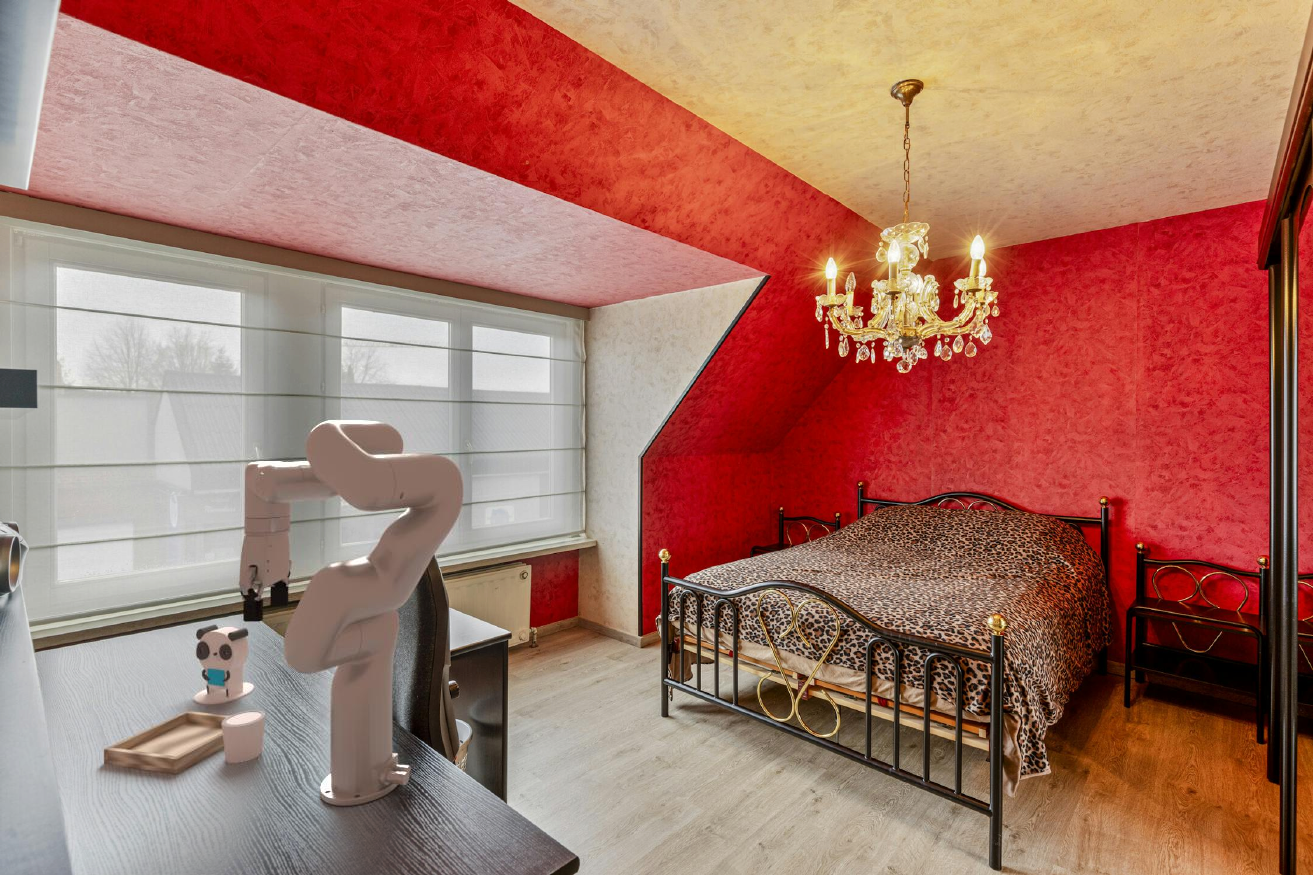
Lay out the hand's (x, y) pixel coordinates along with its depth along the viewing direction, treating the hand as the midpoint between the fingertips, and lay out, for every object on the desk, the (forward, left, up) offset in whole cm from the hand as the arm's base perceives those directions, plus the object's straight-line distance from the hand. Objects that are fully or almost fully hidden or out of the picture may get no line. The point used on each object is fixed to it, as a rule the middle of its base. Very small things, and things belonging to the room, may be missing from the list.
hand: (266, 613), depth 121 cm
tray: (+14, +5, -25) cm, 29 cm away
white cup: (0, +5, -25) cm, 26 cm away
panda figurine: (+28, -17, -25) cm, 41 cm away
